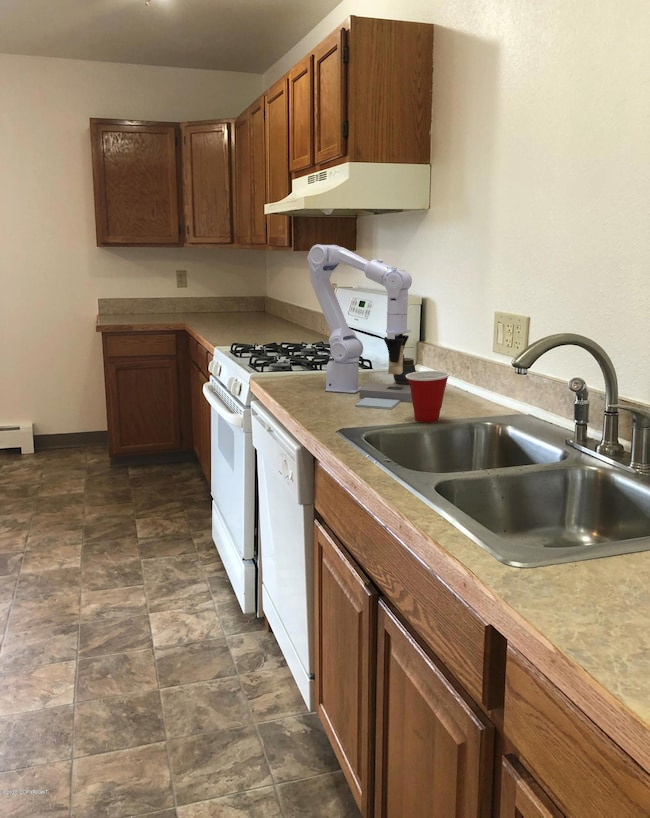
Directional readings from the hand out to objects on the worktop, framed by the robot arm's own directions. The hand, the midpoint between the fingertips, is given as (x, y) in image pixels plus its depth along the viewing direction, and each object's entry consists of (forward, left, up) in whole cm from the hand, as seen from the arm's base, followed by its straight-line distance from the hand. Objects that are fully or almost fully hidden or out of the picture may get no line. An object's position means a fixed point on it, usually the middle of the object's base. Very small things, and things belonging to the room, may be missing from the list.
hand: (395, 361), depth 205 cm
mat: (-2, -12, -10) cm, 16 cm away
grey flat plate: (0, 0, -10) cm, 10 cm away
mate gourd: (-2, +22, -11) cm, 25 cm away
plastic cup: (+14, -26, -11) cm, 31 cm away
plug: (0, 0, -3) cm, 3 cm away
